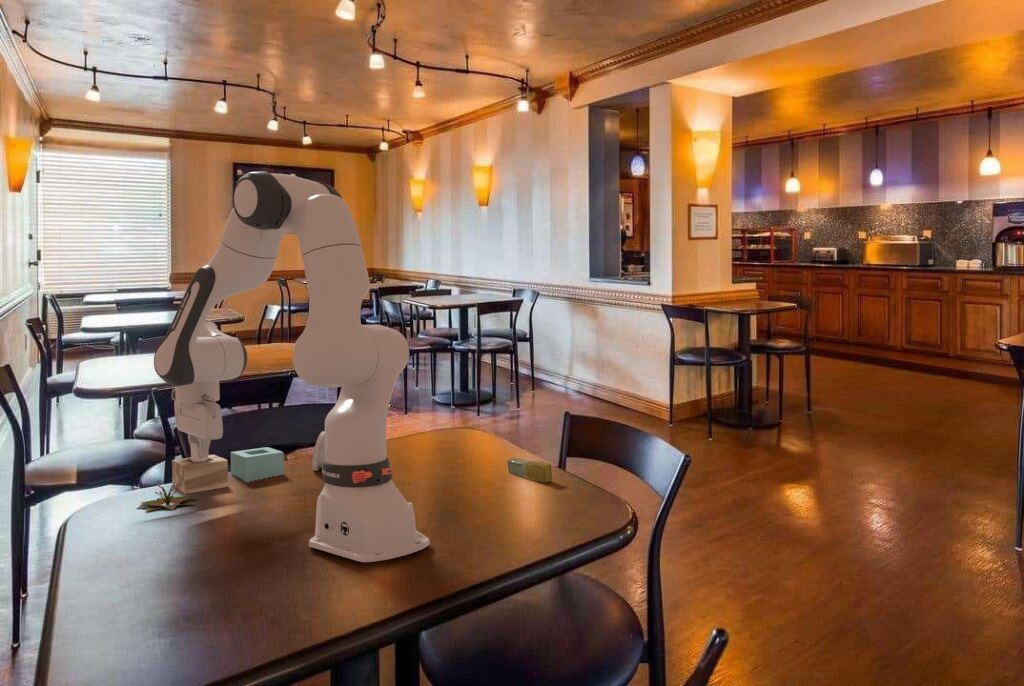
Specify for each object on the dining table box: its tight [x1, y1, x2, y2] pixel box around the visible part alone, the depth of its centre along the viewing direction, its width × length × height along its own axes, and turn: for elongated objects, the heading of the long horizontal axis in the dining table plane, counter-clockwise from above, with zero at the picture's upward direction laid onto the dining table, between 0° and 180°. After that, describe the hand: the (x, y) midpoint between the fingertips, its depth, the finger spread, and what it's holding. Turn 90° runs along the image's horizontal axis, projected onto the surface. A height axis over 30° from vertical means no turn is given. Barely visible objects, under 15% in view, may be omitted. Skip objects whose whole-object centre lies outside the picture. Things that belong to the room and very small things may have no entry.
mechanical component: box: [311, 430, 325, 472], centre depth 169 cm, size 10×4×10 cm, turn 179°
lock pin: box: [190, 441, 208, 463], centre depth 155 cm, size 4×4×9 cm
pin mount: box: [171, 454, 229, 495], centre depth 155 cm, size 9×9×6 cm
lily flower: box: [135, 482, 197, 513], centre depth 141 cm, size 12×12×5 cm
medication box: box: [507, 457, 553, 484], centre depth 161 cm, size 12×3×4 cm, turn 45°
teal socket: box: [230, 446, 285, 483], centre depth 164 cm, size 9×9×6 cm
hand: (199, 455), depth 155 cm, fingers closed on lock pin, 3 cm apart
